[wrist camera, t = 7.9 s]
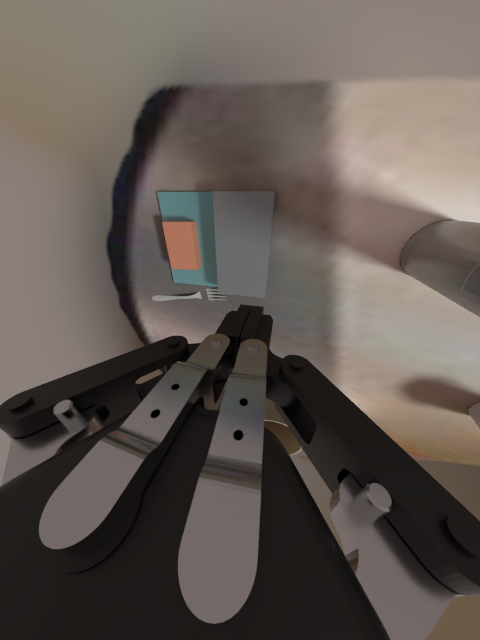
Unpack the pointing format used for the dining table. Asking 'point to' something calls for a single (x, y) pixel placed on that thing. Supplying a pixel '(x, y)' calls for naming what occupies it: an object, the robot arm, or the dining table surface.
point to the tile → (182, 244)
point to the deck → (243, 240)
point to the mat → (202, 212)
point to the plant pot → (280, 428)
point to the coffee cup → (475, 413)
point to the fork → (197, 295)
